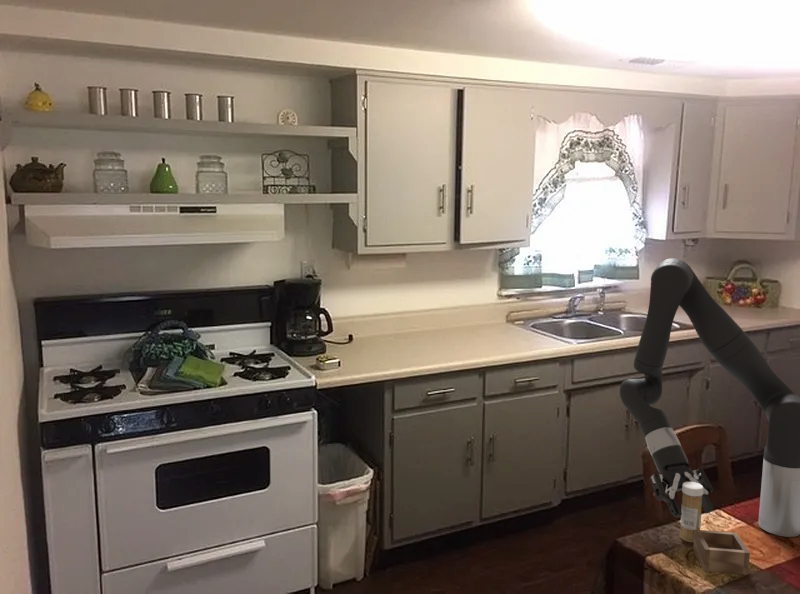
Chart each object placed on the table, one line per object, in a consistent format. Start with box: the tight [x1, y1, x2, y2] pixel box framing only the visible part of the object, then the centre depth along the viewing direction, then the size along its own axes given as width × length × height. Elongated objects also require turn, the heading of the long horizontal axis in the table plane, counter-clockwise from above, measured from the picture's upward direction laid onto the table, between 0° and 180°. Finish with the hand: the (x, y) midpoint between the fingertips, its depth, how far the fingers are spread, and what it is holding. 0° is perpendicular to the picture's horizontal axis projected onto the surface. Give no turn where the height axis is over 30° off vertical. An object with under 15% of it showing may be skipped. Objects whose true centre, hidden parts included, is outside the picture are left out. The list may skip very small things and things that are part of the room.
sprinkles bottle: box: [679, 482, 703, 544], centre depth 160 cm, size 5×5×14 cm
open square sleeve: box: [692, 529, 751, 576], centre depth 150 cm, size 9×9×5 cm
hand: (694, 514), depth 159 cm, fingers open, 8 cm apart
